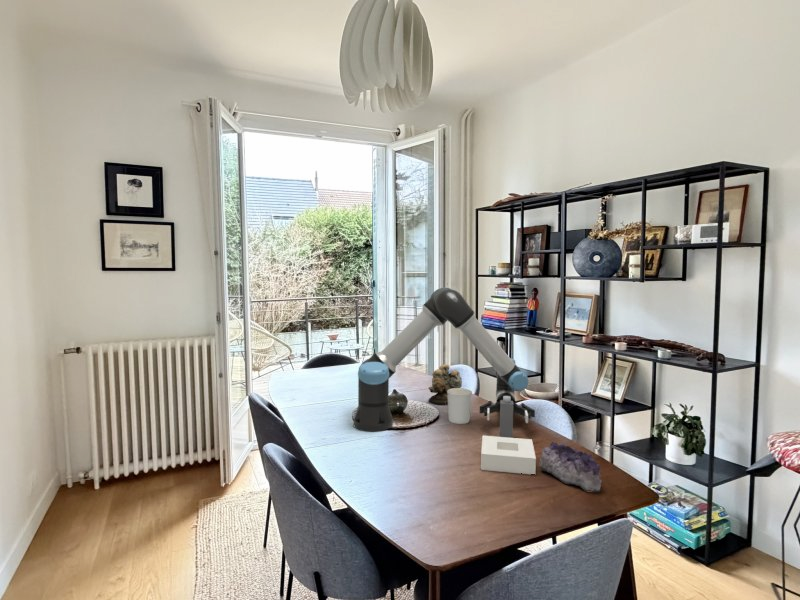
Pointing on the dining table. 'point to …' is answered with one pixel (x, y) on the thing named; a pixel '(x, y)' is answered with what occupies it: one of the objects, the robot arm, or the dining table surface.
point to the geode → (571, 466)
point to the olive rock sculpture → (443, 384)
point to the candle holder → (459, 405)
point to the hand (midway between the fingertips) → (507, 418)
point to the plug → (506, 417)
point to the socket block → (508, 455)
